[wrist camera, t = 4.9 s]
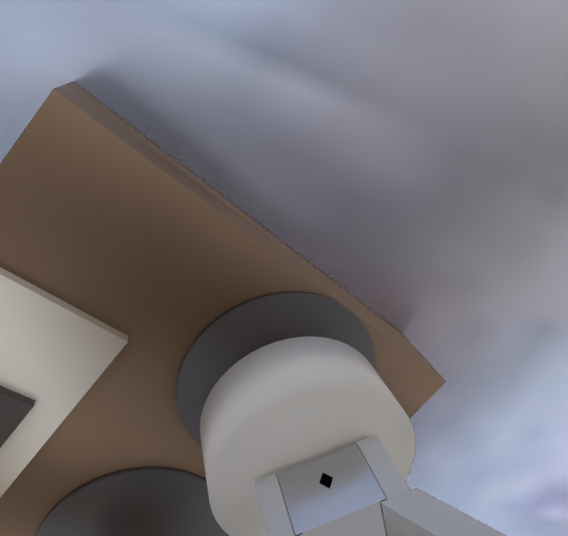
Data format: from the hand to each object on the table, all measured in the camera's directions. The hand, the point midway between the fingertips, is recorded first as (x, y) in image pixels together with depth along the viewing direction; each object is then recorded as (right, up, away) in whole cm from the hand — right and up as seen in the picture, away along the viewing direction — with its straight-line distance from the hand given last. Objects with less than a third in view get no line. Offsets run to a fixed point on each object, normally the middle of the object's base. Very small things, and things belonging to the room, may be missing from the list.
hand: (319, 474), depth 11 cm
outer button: (-1, +1, +2) cm, 2 cm away
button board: (-8, -2, +6) cm, 10 cm away
